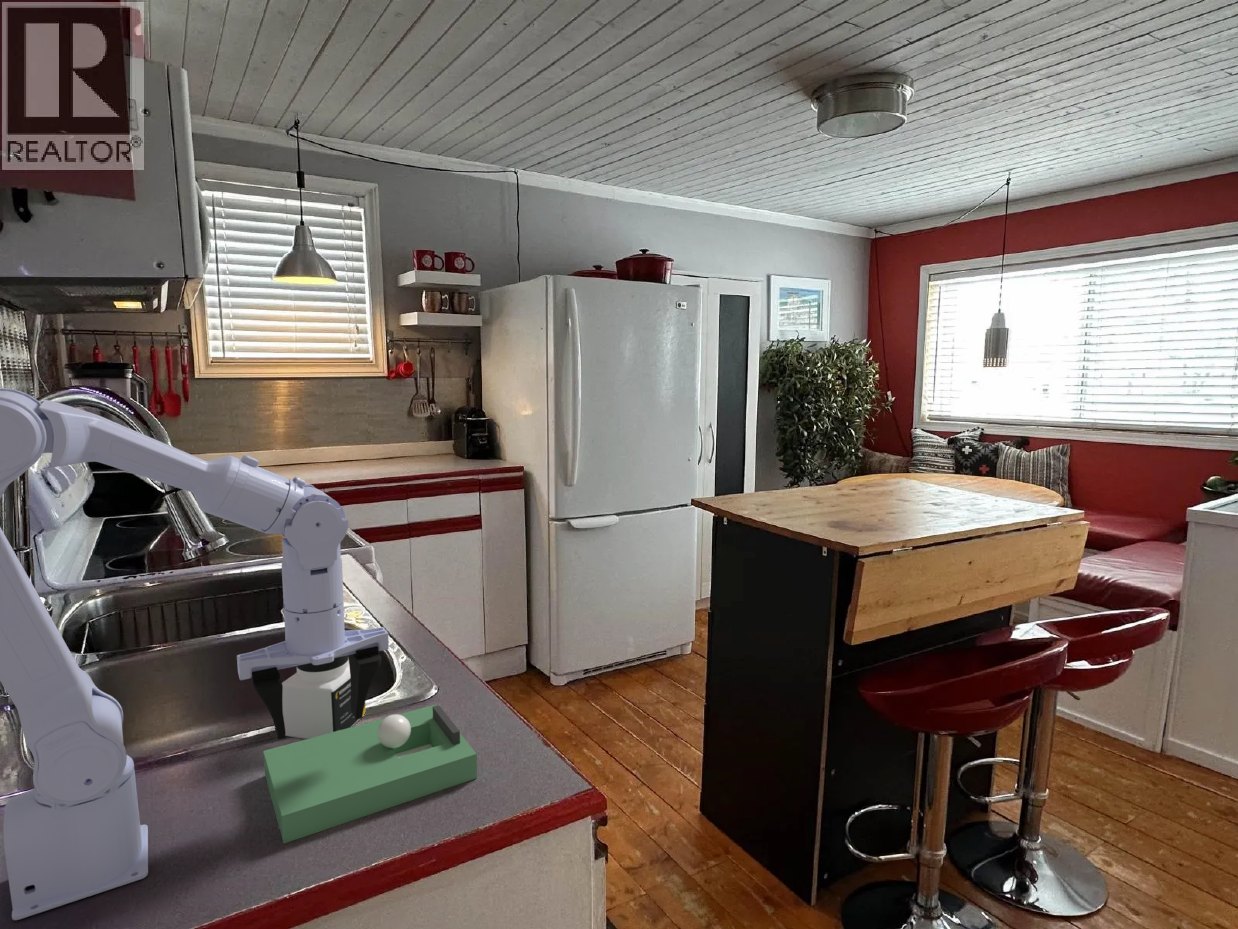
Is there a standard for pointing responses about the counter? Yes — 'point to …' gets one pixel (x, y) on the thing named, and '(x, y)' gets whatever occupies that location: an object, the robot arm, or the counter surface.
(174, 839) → the counter surface
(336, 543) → the robot arm
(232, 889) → the counter surface
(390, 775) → the green pocketed block
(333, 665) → the medicine bottle
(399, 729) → the ball
